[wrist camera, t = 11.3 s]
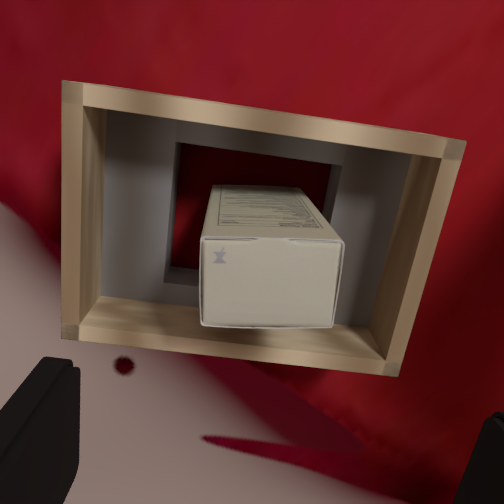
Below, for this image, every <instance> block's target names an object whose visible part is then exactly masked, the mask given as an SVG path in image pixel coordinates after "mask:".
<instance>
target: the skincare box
mask: <svg viewBox="0 0 504 504" xmlns="http://www.w3.org/2000/svg"><path fill="white" fill-rule="evenodd" d="M344 250H345V244H344V242H343V240H342V239H341V238H340V237H339V236H338V234H337V233H336V232H335V231H334V229H333V228H332V227H331V226H330V224H329V223H328V222H327V221H326V219H325V218H324V217H323V216H322V214H321V213H320V212H319V211H318V209H317V208H316V207H315V206H314V205H313V203H312V202H311V201H310V199H309V198H308V197H307V196H306V195H305V193H304V192H303V191H302V190H301V189H300V188H298V187H285V186H266V185H213V186H212V190H211V194H210V198H209V202H208V207H207V212H206V216H205V221H204V225H203V230H202V234H201V238H200V260H199V310H200V324H201V325H202V326H210V327H224V328H252V329H256V328H258V329H313V328H332V327H333V324H334V317H335V311H336V305H337V299H338V293H339V287H340V280H341V273H342V265H343V257H344Z"/></svg>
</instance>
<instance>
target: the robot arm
mask: <svg viewBox="0 0 504 504" xmlns="http://www.w3.org/2000/svg"><path fill="white" fill-rule="evenodd" d="M79 429H80V368H79V367H73V362H72V360H70V359H62V358H54V357H43V358H42V359H41V360H40V362H39V363H38V364H37V365H36V367H35V368H34V369H33V370H32V371H31V373H30V374H29V375H28V376H27V378H26V379H25V380H24V381H23V383H22V384H21V385H20V386H19V388H18V389H17V390H16V391H15V393H14V394H13V395H12V396H11V398H10V399H9V400H8V401H7V403H6V404H5V405H4V406H3V408H2V409H1V410H0V504H63V502H64V501H65V498H66V496H67V494H68V492H69V489H70V488H71V485H72V483H73V481H74V479H75V476H76V473H77V470H78V465H79V434H80V433H79V432H80V431H79ZM453 504H504V412H495V413H494V414H493V415H492V416H491V417H489V418H487V419H486V420H485V422H484V424H483V426H482V429H481V432H480V434H479V437H478V439H477V442H476V444H475V447H474V449H473V452H472V455H471V457H470V460H469V462H468V465H467V467H466V470H465V472H464V475H463V477H462V480H461V483H460V485H459V488H458V490H457V493H456V495H455V498H454V500H453Z"/></svg>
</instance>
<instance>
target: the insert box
mask: <svg viewBox="0 0 504 504" xmlns="http://www.w3.org/2000/svg"><path fill="white" fill-rule="evenodd" d="M182 143H188V144H195V145H202V146H209V147H216V148H223V149H230V150H237V151H244V152H250V153H257V154H264V155H271V156H278V157H285V158H292V159H299V160H306V161H313V162H320V163H327V164H332V166H331V171H330V176H329V181H328V186H327V191H326V196H325V201H324V206H323V211H322V216H323V217H324V218H325V219H326V221H327V222H328V223H329V224H330V226H331V227H332V228H333V229H334V231H335V232H336V233H337V234H338V236H339V237H340V238H341V239H342V240H343V242H344V244H345V250H344V257H343V265H342V273H341V280H340V287H339V293H338V299H337V305H336V311H335V317H334V324H333V327H332V328H313V329H258V328H256V329H252V328H224V327H210V326H202V325H201V324H200V310H199V270H198V269H190V268H182V267H174V266H171V257H172V246H173V235H174V223H175V212H176V201H177V190H178V178H179V167H180V156H181V145H182ZM466 143H467V141H464V140H458V139H452V138H447V137H441V136H436V135H430V134H425V133H419V132H414V131H407V130H400V129H394V128H387V127H380V126H374V125H367V124H360V123H354V122H347V121H341V120H334V119H327V118H321V117H314V116H307V115H301V114H294V113H287V112H281V111H274V110H267V109H261V108H254V107H248V106H241V105H234V104H228V103H221V102H214V101H208V100H201V99H194V98H188V97H181V96H174V95H168V94H161V93H155V92H148V91H141V90H135V89H128V88H121V87H115V86H108V85H100V84H91V83H82V82H73V81H64V80H62V197H61V339H69V340H78V341H86V342H95V343H104V344H112V345H121V346H130V347H140V348H148V349H157V350H165V351H175V352H184V353H192V354H201V355H209V356H219V357H227V358H236V359H245V360H253V361H262V362H271V363H280V364H289V365H297V366H306V367H315V368H324V369H333V370H342V371H350V372H359V373H368V374H377V375H386V376H394V377H398V375H399V371H400V368H401V364H402V361H403V358H404V354H405V351H406V347H407V344H408V341H409V337H410V334H411V330H412V327H413V323H414V320H415V317H416V313H417V310H418V306H419V303H420V300H421V296H422V293H423V289H424V286H425V283H426V279H427V276H428V272H429V269H430V265H431V262H432V259H433V255H434V252H435V248H436V245H437V242H438V238H439V235H440V231H441V228H442V225H443V221H444V218H445V214H446V211H447V207H448V204H449V201H450V197H451V194H452V190H453V187H454V184H455V180H456V177H457V173H458V170H459V166H460V163H461V160H462V156H463V153H464V149H465V146H466Z"/></svg>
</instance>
